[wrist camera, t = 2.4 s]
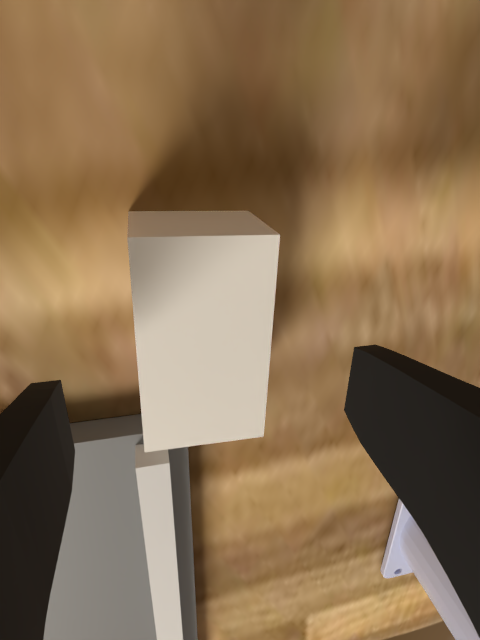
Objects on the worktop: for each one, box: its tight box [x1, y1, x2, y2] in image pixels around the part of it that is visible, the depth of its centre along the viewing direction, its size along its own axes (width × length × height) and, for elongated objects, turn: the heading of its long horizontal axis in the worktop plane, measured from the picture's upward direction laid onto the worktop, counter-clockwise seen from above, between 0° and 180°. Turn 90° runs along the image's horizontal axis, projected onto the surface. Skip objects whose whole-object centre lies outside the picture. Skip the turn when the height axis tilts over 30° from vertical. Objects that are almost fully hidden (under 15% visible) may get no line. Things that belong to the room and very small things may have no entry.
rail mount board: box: [43, 414, 198, 640], centre depth 18 cm, size 11×19×4 cm, turn 179°
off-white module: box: [128, 211, 280, 452], centre depth 14 cm, size 4×7×4 cm, turn 178°
